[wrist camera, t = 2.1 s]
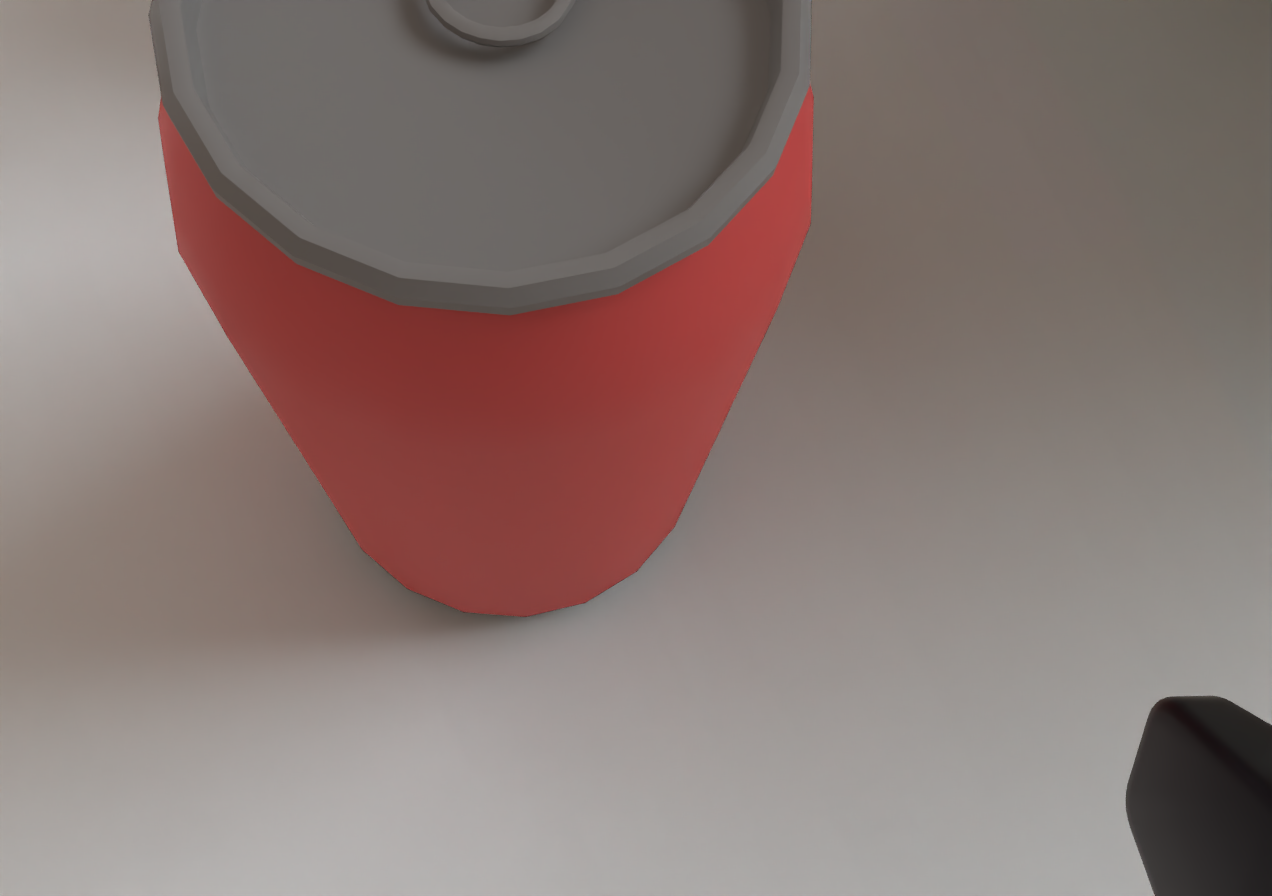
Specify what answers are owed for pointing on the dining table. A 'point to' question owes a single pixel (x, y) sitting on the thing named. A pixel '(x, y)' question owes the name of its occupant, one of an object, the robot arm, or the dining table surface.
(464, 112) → the beer can
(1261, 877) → the robot arm
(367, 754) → the dining table surface
